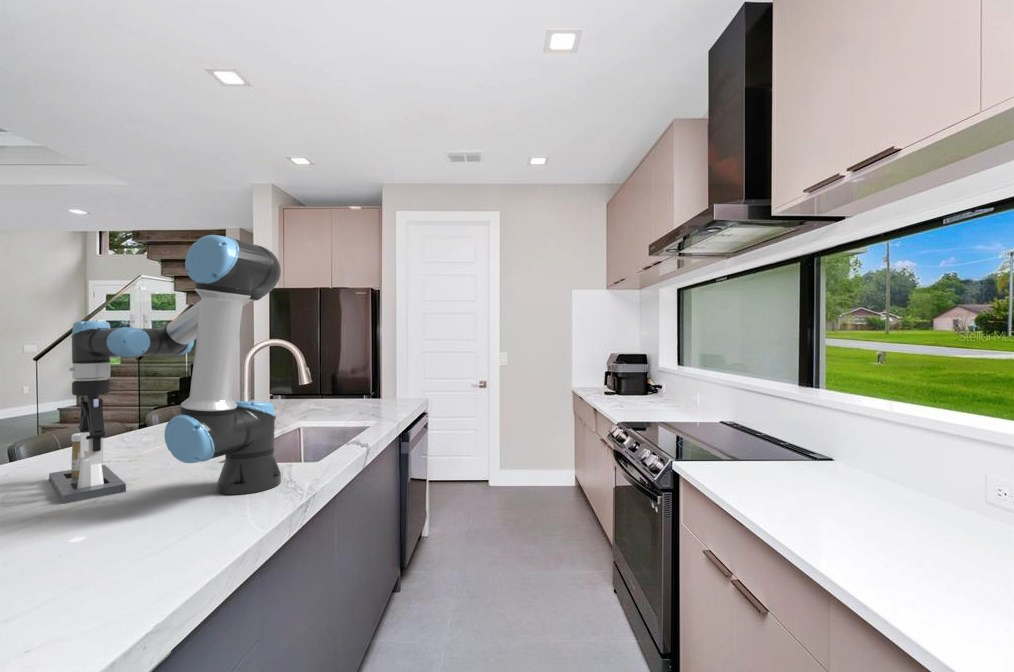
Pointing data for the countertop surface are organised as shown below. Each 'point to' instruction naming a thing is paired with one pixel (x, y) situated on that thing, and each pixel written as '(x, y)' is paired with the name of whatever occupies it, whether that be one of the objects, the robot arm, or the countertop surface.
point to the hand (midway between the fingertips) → (91, 460)
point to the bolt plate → (70, 493)
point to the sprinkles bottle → (76, 455)
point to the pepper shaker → (89, 473)
